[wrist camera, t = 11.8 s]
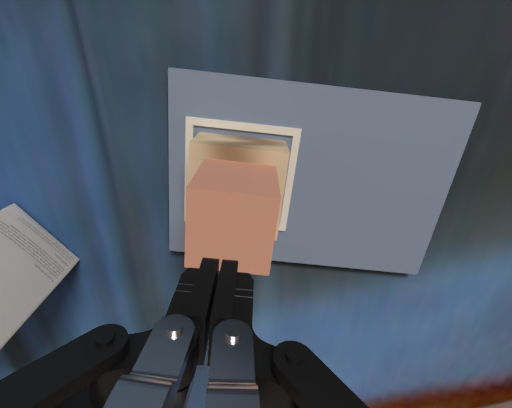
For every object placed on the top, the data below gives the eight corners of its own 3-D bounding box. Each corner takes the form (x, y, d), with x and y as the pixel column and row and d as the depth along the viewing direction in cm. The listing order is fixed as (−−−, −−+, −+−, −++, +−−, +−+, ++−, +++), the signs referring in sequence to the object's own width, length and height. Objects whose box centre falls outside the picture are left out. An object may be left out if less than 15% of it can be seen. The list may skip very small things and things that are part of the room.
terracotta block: (276, 165, 22) (280, 197, 16) (267, 228, 24) (269, 275, 18) (205, 158, 22) (186, 187, 16) (202, 221, 24) (184, 267, 18)
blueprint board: (472, 101, 25) (483, 103, 24) (411, 267, 31) (418, 275, 30) (172, 67, 24) (167, 67, 23) (172, 243, 31) (168, 251, 29)
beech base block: (285, 140, 25) (289, 153, 21) (274, 218, 28) (276, 240, 24) (199, 131, 25) (188, 142, 21) (196, 210, 28) (187, 231, 24)
